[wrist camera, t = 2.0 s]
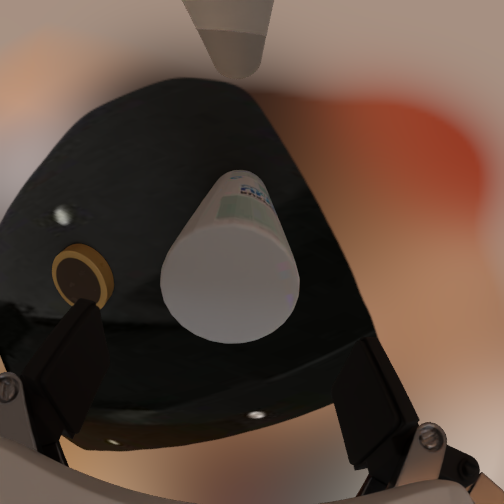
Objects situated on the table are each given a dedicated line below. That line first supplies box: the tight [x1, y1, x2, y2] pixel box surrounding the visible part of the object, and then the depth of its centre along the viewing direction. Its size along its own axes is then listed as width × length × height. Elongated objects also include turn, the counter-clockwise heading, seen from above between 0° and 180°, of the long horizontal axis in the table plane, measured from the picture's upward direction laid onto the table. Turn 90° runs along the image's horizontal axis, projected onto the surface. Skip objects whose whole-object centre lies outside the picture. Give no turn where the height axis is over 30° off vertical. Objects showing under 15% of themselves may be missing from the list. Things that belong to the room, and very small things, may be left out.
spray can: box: [160, 170, 300, 343], centre depth 21 cm, size 6×6×20 cm
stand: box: [52, 244, 114, 309], centre depth 33 cm, size 10×10×3 cm
